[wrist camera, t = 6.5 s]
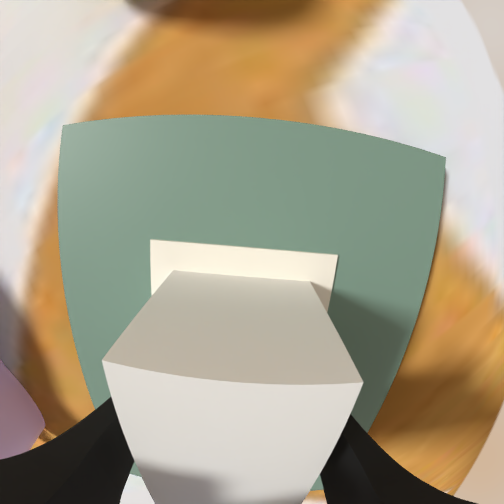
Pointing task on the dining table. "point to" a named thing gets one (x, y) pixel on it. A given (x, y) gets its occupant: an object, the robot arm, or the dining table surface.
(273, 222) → the board
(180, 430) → the plug housing
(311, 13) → the dining table surface
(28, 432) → the purple lobed piece
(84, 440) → the robot arm
